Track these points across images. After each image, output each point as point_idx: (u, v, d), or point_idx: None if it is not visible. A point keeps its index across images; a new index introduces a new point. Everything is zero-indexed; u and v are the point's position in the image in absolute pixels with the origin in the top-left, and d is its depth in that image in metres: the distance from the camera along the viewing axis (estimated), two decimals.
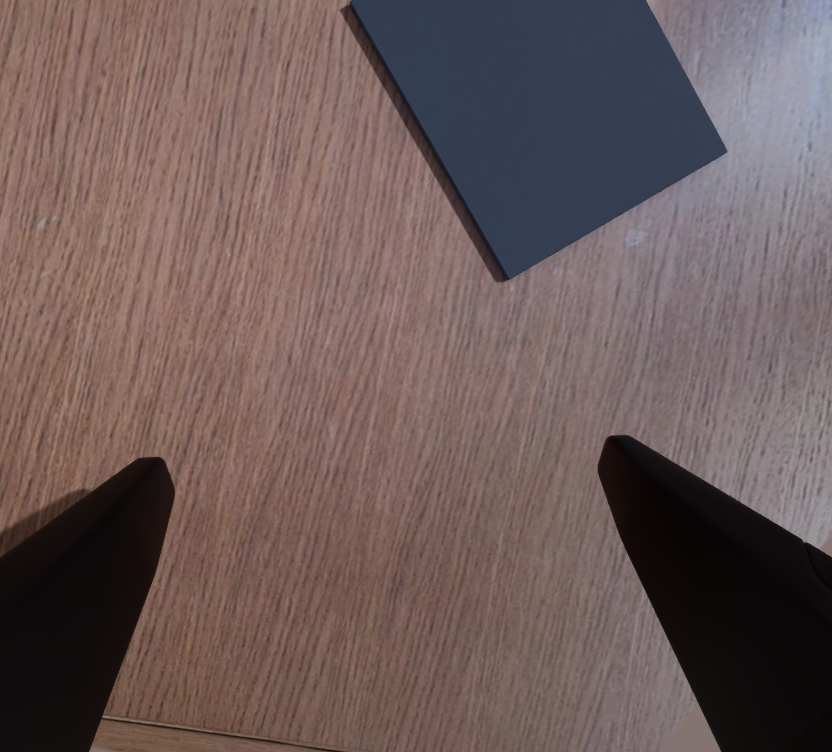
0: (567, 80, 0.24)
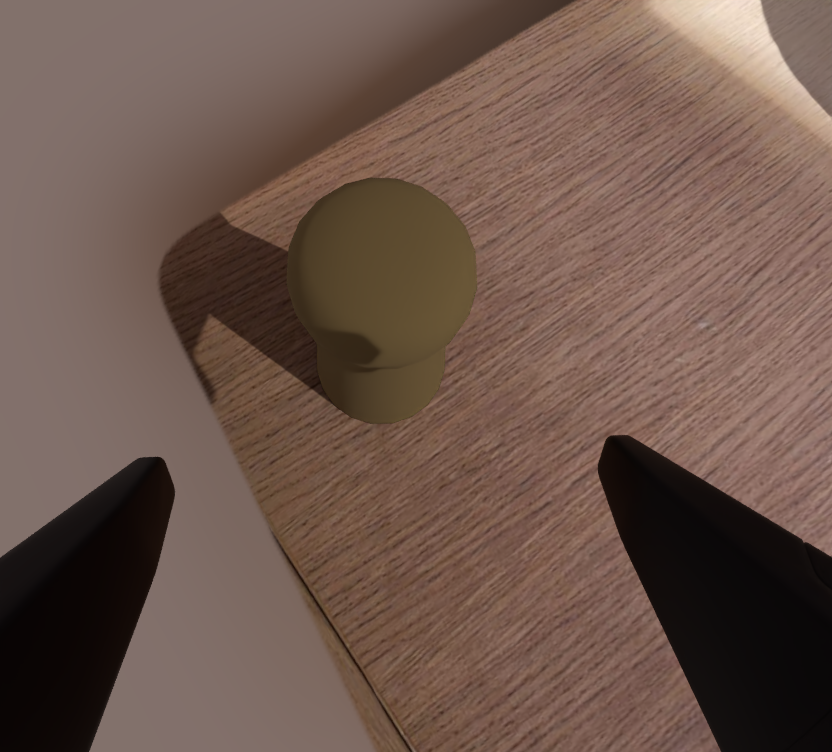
0: None
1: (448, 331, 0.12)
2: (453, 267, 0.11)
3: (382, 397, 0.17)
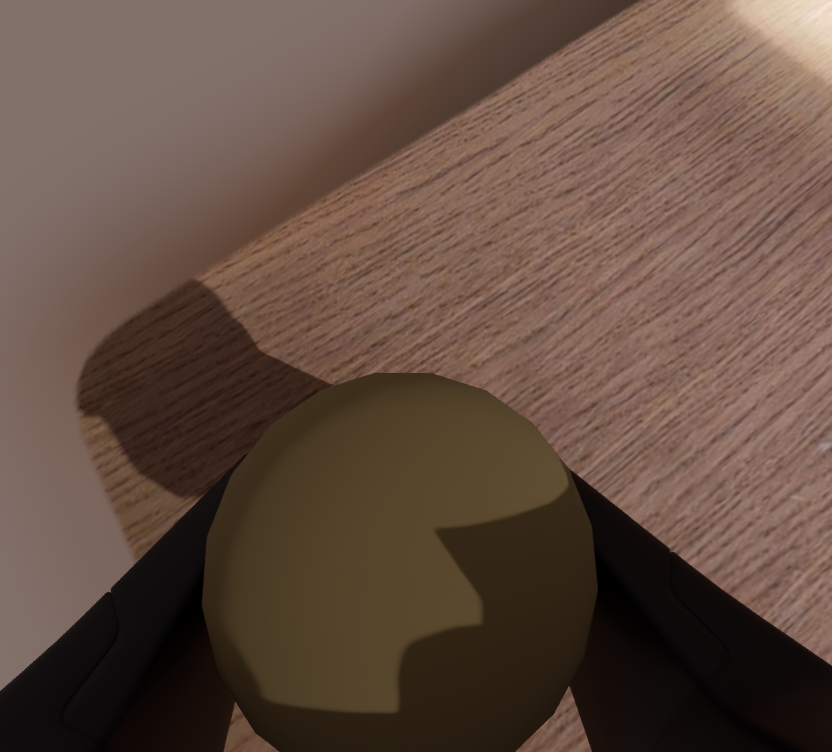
0: None
1: None
2: (563, 611, 0.05)
3: None
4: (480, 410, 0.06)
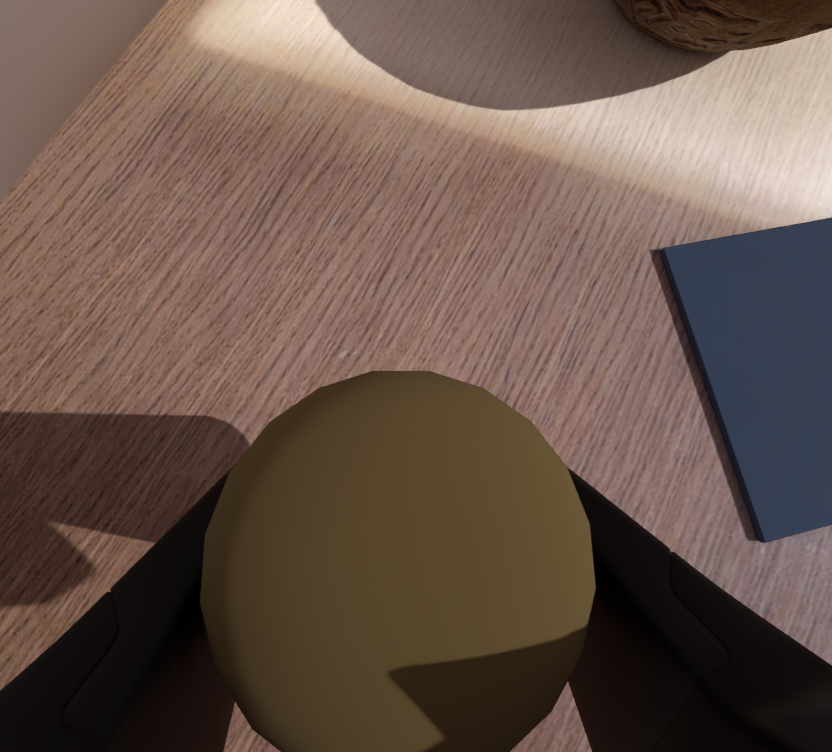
0: None
1: None
2: (561, 609, 0.05)
3: None
4: (478, 408, 0.06)
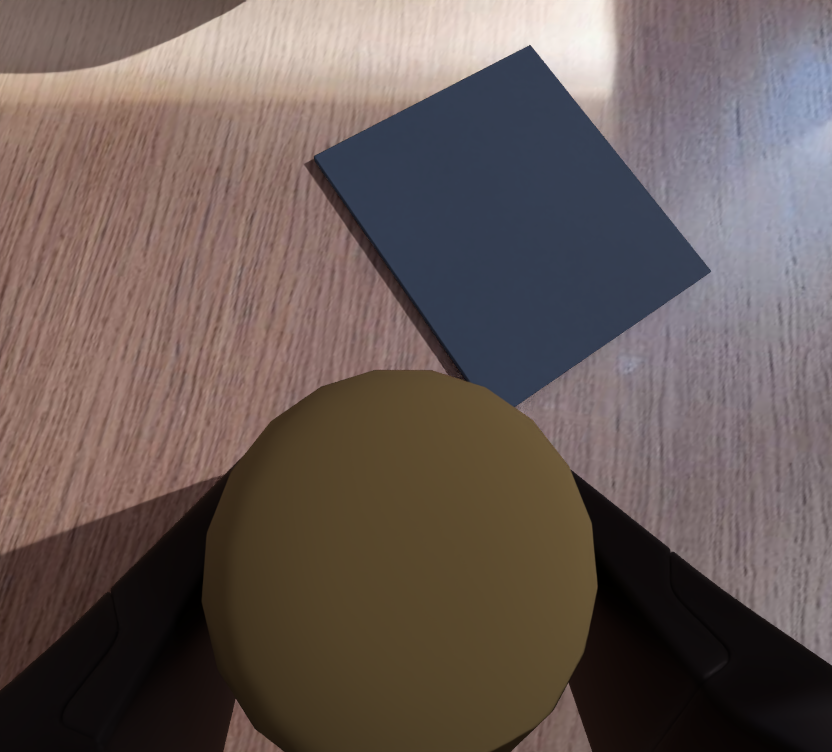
0: (536, 214, 0.24)
1: None
2: (563, 608, 0.05)
3: None
4: (480, 407, 0.06)
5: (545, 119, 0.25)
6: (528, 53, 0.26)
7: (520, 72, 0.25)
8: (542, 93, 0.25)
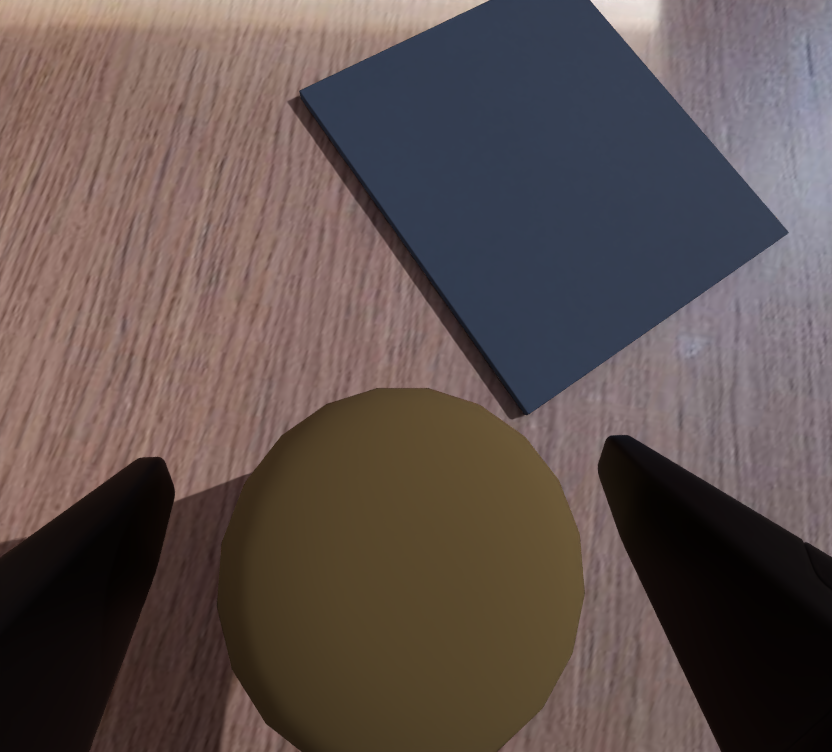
0: (573, 163, 0.19)
1: (534, 714, 0.06)
2: (551, 613, 0.06)
3: None
4: (476, 426, 0.06)
5: (581, 52, 0.21)
6: None
7: None
8: (577, 21, 0.21)
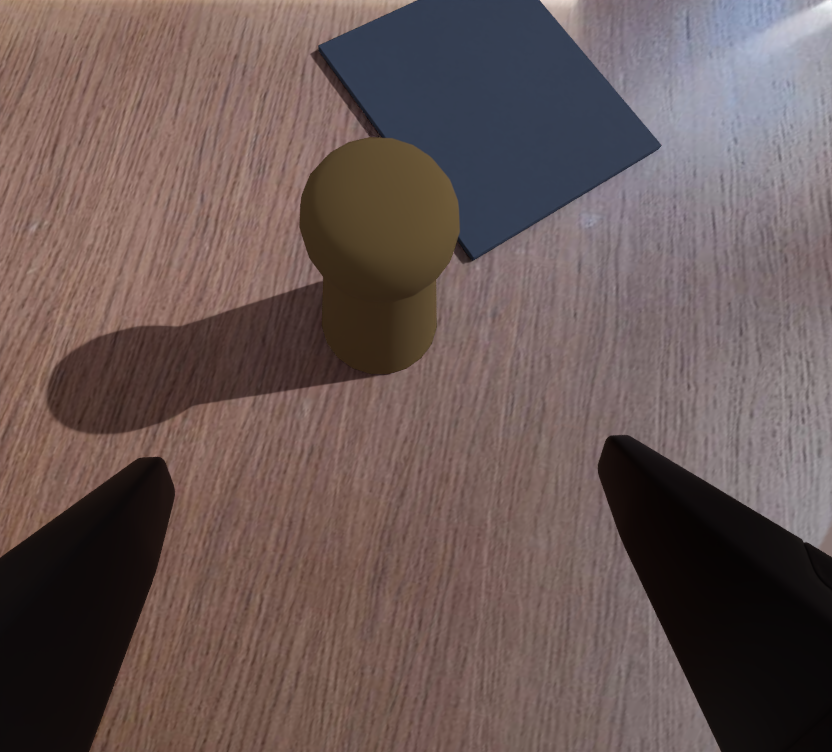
0: (510, 96, 0.27)
1: (434, 264, 0.14)
2: (438, 209, 0.14)
3: (380, 341, 0.20)
4: (410, 146, 0.14)
5: (518, 20, 0.29)
6: None
7: None
8: None
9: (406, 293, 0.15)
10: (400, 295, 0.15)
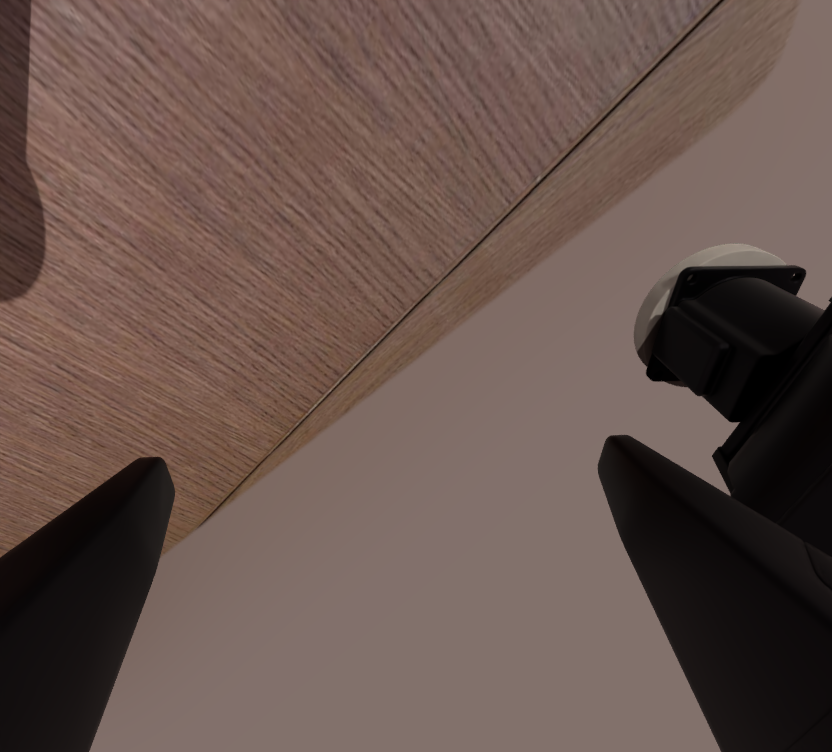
0: None
1: None
2: None
3: None
4: None
5: None
6: None
7: None
8: None
9: None
10: None
